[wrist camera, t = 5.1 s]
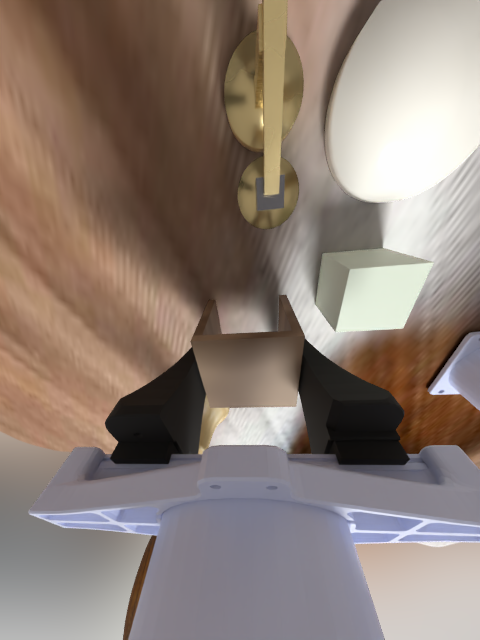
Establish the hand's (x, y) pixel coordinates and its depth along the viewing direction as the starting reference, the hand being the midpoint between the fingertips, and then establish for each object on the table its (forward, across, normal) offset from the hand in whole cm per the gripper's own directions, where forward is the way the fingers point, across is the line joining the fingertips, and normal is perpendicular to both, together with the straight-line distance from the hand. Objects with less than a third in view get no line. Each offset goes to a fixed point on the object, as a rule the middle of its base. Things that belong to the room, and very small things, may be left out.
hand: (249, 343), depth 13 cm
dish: (+3, -8, -12) cm, 15 cm away
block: (+3, -8, -4) cm, 9 cm away
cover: (+2, 0, 0) cm, 2 cm away
